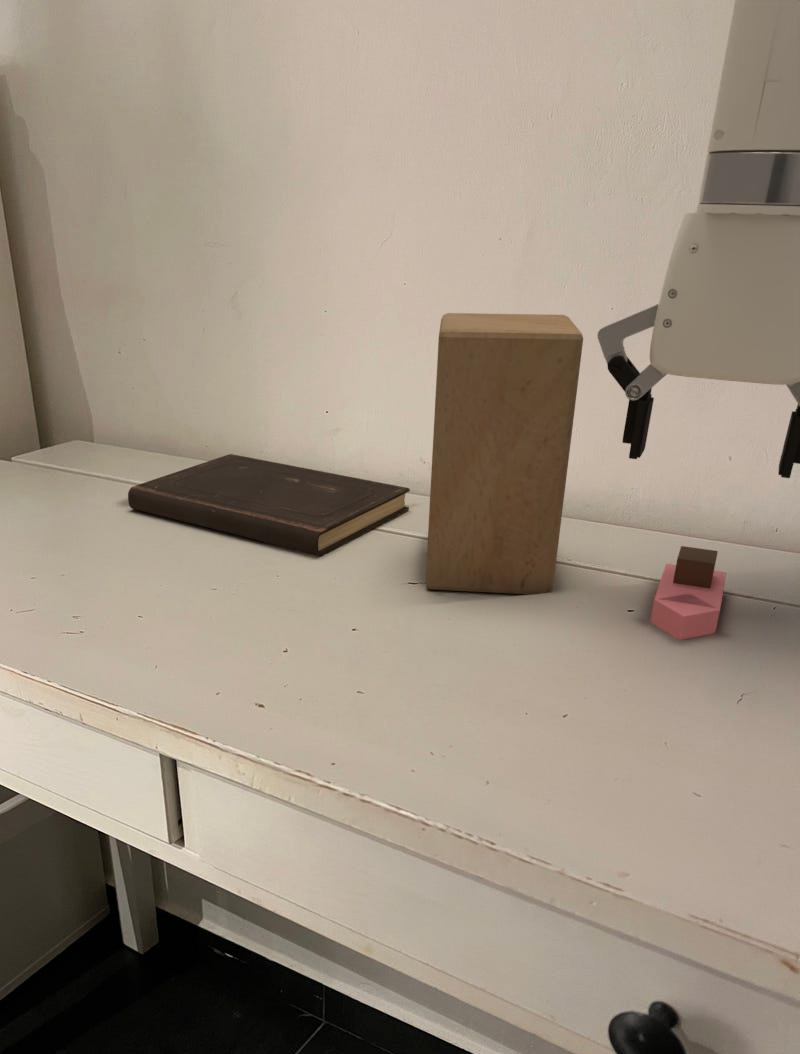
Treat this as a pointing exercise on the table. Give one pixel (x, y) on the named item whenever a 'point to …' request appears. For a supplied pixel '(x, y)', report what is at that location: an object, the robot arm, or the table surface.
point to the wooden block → (500, 450)
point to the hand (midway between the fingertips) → (708, 463)
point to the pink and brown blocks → (689, 595)
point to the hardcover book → (272, 502)
